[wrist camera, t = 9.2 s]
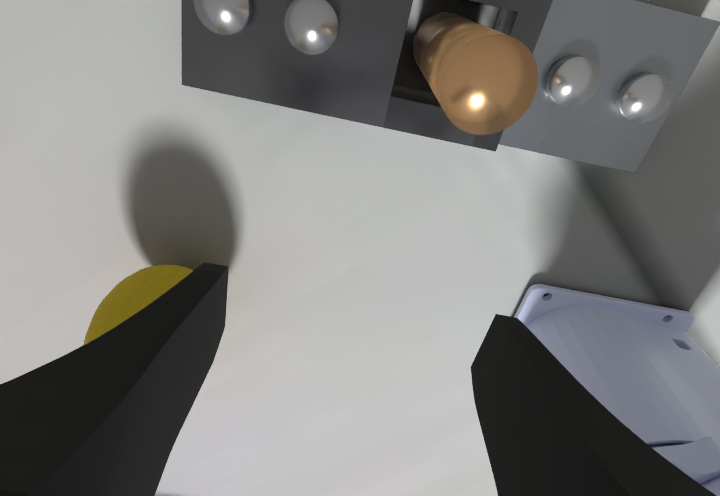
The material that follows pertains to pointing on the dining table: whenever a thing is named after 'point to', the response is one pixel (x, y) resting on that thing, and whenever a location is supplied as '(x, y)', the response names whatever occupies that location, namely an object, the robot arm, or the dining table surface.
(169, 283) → the lemon
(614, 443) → the robot arm
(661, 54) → the chain joint
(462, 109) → the copper pin
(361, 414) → the dining table surface
